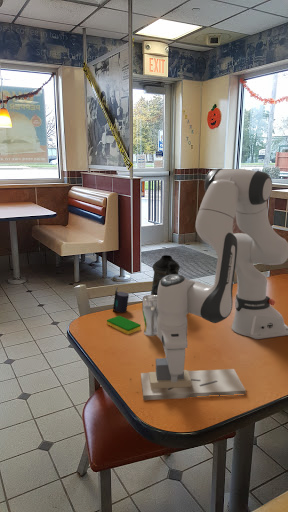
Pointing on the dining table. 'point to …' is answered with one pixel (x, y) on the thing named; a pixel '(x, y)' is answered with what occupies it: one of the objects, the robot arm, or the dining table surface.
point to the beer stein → (163, 271)
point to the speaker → (120, 301)
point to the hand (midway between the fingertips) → (171, 372)
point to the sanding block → (167, 377)
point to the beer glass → (150, 314)
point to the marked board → (197, 385)
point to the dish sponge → (123, 324)
